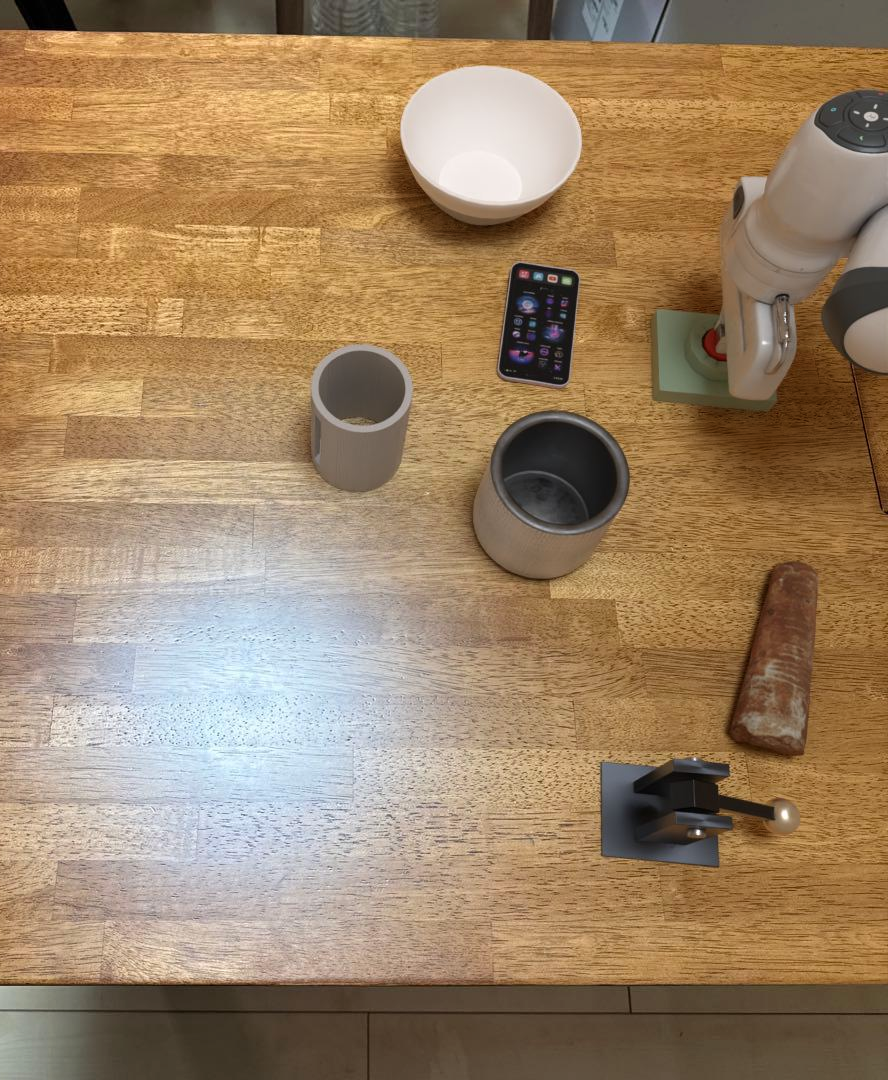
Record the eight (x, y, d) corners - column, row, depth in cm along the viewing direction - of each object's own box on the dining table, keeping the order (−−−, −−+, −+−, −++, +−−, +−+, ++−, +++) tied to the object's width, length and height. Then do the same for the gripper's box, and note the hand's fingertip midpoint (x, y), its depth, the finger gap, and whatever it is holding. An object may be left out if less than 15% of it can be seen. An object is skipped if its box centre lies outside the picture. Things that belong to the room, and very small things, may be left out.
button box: (761, 331, 109) (777, 308, 105) (768, 412, 105) (785, 391, 102) (650, 320, 109) (662, 298, 106) (652, 401, 105) (665, 380, 102)
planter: (504, 600, 96) (527, 556, 86) (450, 489, 101) (465, 434, 90) (621, 556, 98) (657, 507, 88) (563, 448, 103) (591, 390, 93)
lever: (776, 802, 87) (806, 799, 84) (778, 838, 85) (810, 836, 83) (666, 777, 81) (696, 772, 78) (667, 815, 80) (697, 812, 77)
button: (733, 338, 106) (740, 329, 104) (735, 368, 104) (742, 359, 103) (699, 335, 106) (705, 325, 104) (700, 365, 104) (706, 355, 103)
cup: (419, 440, 103) (431, 376, 92) (370, 508, 100) (377, 450, 88) (344, 396, 104) (347, 328, 93) (293, 461, 101) (291, 398, 90)
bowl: (518, 284, 110) (533, 234, 103) (362, 210, 114) (366, 155, 106) (592, 166, 117) (612, 110, 110) (444, 99, 121) (452, 40, 113)
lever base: (709, 774, 90) (764, 747, 80) (714, 868, 87) (771, 853, 76) (597, 763, 90) (636, 735, 80) (598, 857, 87) (639, 841, 76)
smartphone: (580, 270, 111) (569, 387, 105) (579, 274, 111) (567, 390, 105) (512, 260, 111) (496, 376, 105) (511, 263, 111) (495, 379, 106)
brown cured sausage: (717, 744, 91) (741, 730, 86) (763, 562, 99) (787, 539, 94) (786, 770, 91) (814, 758, 86) (827, 585, 98) (855, 563, 93)
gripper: (827, 356, 86) (760, 434, 99) (806, 169, 94) (746, 264, 107) (753, 349, 86) (696, 428, 99) (738, 162, 94) (687, 258, 107)
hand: (722, 341), depth 103 cm, fingers closed, pressing on button
